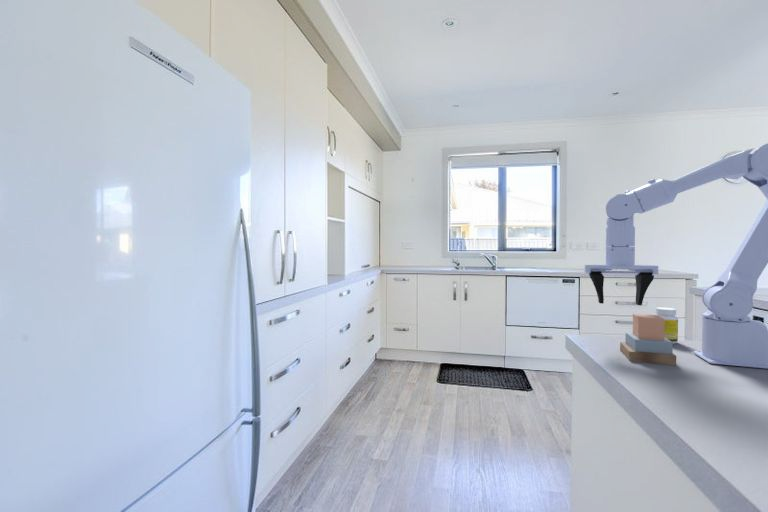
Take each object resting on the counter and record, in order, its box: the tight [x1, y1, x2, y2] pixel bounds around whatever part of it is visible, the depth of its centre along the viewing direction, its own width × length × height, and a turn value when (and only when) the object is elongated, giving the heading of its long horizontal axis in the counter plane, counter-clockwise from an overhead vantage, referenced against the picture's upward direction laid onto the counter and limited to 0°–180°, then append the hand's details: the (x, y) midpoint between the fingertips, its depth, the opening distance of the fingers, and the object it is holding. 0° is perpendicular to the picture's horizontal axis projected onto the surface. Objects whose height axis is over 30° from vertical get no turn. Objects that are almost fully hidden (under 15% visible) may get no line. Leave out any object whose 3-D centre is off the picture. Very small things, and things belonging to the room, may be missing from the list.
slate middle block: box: [625, 332, 674, 354], centre depth 76 cm, size 6×6×2 cm
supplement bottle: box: [655, 306, 679, 345], centre depth 89 cm, size 5×5×8 cm
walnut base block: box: [619, 341, 677, 366], centre depth 77 cm, size 8×8×2 cm
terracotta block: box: [632, 313, 665, 341], centre depth 76 cm, size 4×4×4 cm
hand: (619, 303), depth 84 cm, fingers open, 7 cm apart
